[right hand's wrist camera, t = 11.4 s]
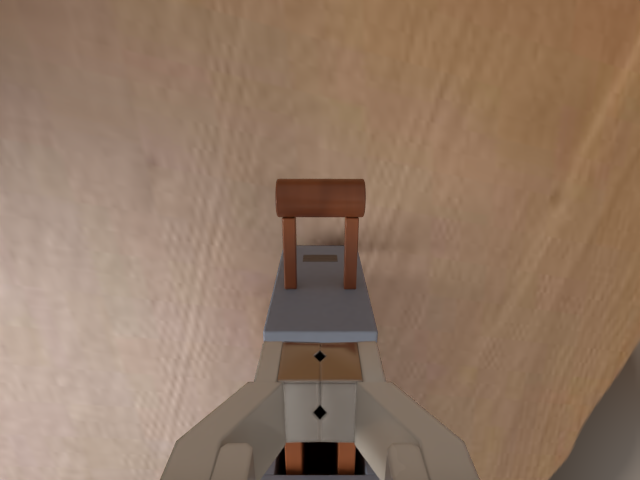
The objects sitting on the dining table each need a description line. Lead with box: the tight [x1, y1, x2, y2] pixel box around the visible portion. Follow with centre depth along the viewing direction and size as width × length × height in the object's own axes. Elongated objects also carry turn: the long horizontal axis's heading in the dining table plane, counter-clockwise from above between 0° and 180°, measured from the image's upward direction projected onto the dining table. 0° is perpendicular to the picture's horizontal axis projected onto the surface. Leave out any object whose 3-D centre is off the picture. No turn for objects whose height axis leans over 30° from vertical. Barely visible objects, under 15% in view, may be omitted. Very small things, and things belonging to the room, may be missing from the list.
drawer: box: [263, 179, 378, 475], centre depth 22 cm, size 24×5×10 cm, turn 0°
